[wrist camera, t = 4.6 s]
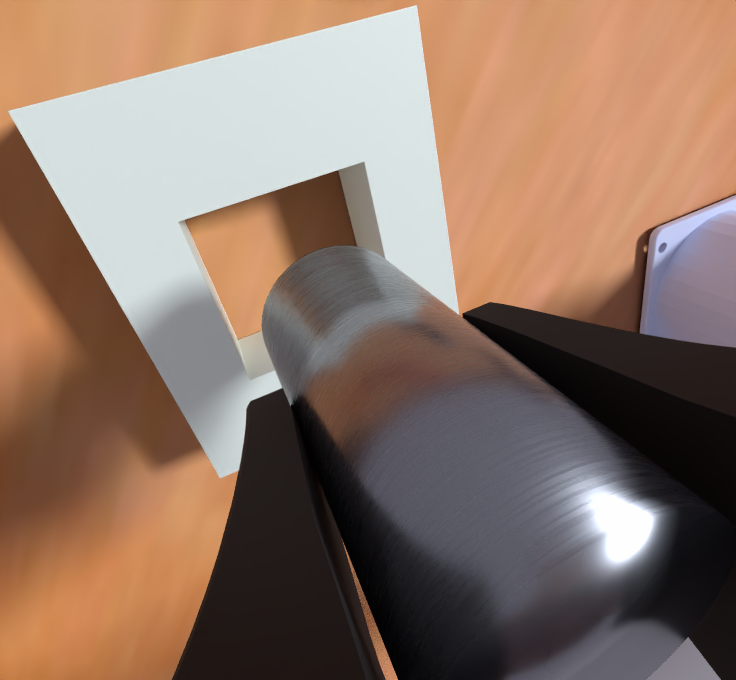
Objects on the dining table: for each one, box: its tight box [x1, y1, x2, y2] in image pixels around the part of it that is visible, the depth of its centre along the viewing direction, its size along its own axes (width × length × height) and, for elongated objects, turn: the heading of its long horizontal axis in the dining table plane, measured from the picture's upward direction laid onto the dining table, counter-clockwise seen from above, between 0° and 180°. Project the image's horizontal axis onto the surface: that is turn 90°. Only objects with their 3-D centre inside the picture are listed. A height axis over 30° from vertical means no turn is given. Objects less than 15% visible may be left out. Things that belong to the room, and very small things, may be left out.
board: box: [8, 5, 459, 478], centre depth 16 cm, size 12×10×3 cm
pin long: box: [262, 245, 736, 680], centre depth 8 cm, size 4×4×8 cm
